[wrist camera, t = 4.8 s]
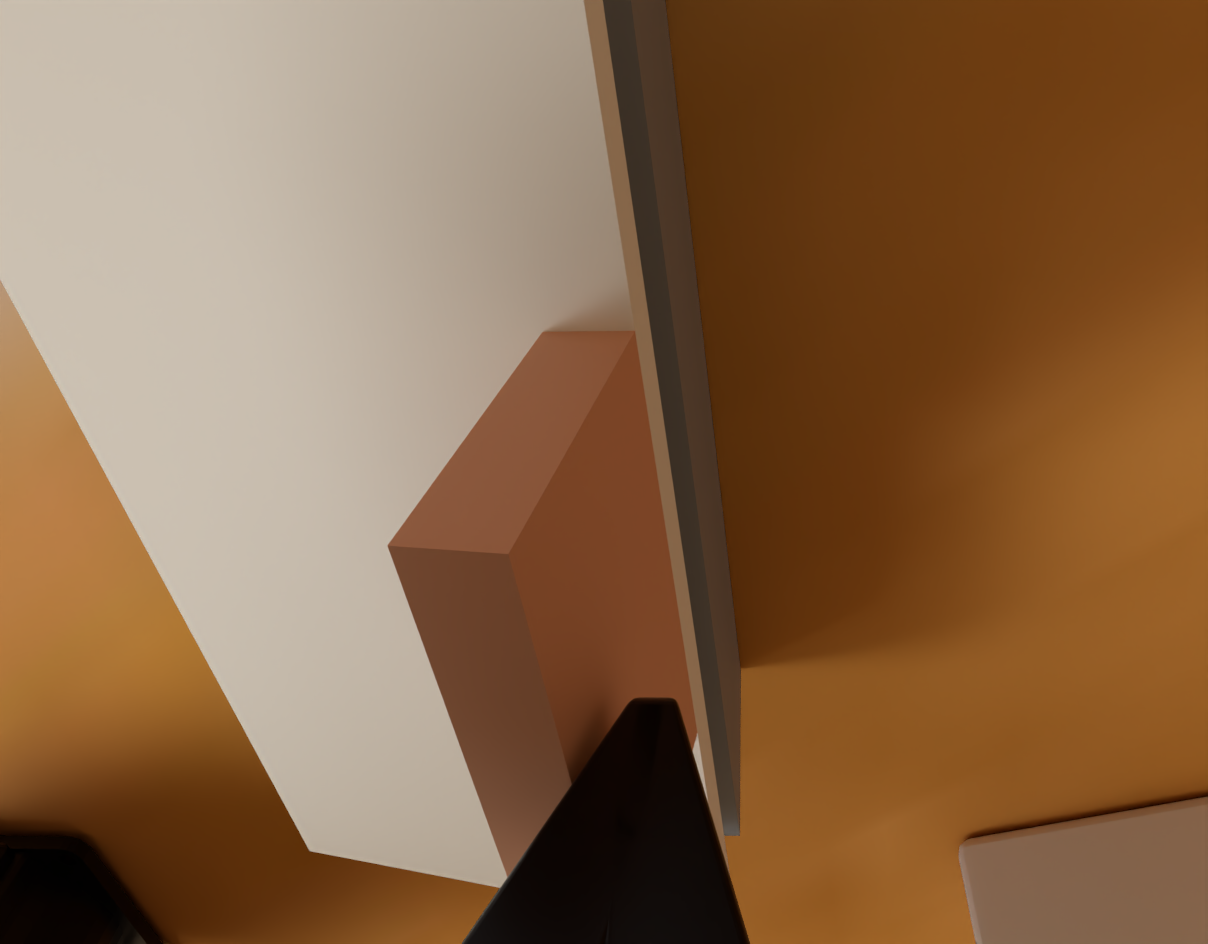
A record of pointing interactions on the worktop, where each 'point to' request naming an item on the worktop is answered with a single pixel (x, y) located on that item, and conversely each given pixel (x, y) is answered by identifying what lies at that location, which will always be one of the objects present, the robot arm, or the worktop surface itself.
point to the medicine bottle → (1093, 879)
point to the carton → (680, 362)
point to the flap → (366, 385)
